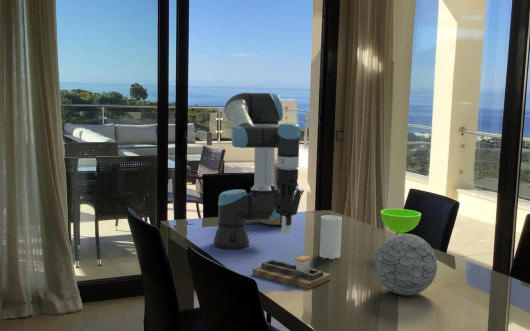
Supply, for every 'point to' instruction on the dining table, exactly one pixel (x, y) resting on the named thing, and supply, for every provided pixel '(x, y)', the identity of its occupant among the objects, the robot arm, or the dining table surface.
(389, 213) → the wineglass
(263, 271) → the wooden tray
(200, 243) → the dining table surface
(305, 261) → the fader knob
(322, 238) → the cup
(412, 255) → the decorative sphere
